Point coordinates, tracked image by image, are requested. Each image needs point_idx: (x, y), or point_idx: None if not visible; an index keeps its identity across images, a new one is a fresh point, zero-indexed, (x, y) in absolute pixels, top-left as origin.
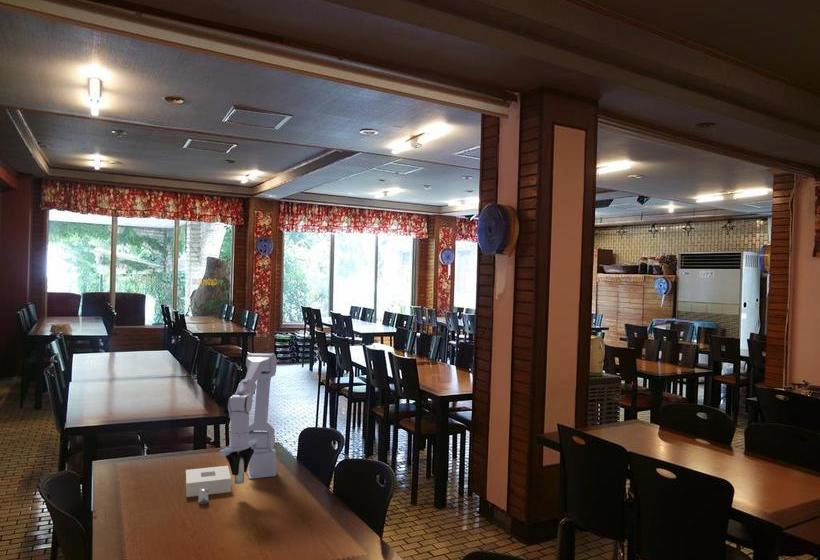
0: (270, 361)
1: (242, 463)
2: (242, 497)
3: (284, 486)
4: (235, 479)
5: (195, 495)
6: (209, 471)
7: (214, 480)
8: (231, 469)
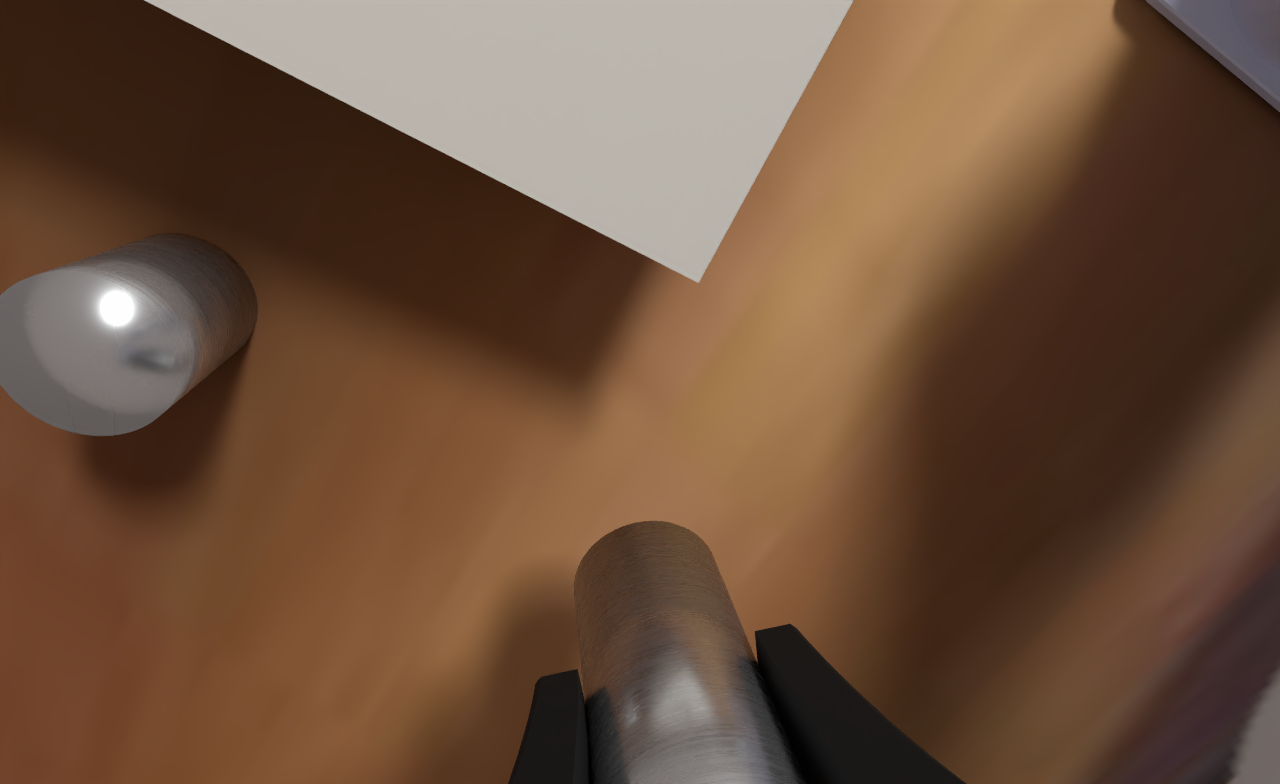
0: None
1: None
2: (646, 492)
3: (1124, 513)
4: (579, 640)
5: None
6: None
7: (415, 138)
8: (520, 768)
